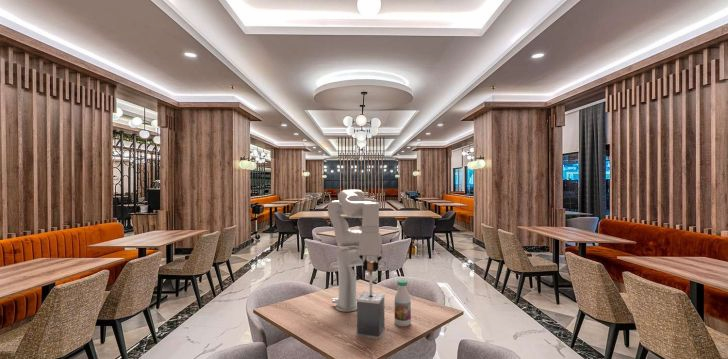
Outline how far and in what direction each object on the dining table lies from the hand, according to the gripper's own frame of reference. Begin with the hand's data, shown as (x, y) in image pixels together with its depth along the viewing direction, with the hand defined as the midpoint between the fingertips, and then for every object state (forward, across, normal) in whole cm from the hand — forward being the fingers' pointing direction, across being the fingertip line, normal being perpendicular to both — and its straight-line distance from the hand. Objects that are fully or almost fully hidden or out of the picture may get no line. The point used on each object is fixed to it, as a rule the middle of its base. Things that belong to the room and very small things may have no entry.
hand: (370, 270), depth 140 cm
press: (+28, 0, +1) cm, 28 cm away
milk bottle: (+28, +12, +13) cm, 33 cm away
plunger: (+16, 0, 0) cm, 16 cm away
